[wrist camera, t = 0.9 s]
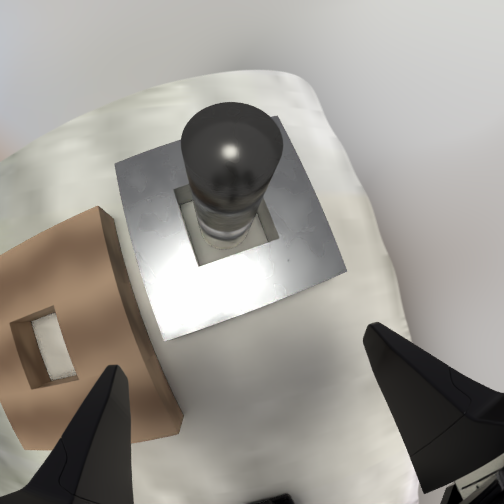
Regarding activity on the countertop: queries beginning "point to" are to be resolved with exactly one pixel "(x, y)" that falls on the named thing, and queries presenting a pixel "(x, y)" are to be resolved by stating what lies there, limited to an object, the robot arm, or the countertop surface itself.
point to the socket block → (232, 267)
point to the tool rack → (76, 332)
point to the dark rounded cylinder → (229, 168)
